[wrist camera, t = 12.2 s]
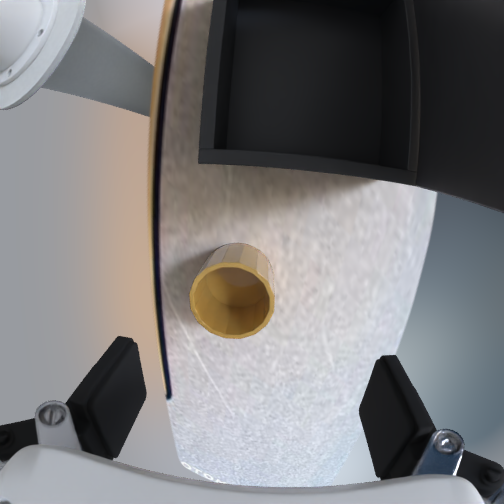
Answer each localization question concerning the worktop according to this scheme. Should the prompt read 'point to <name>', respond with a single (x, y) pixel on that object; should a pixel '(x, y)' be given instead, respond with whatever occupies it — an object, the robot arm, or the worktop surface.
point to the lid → (462, 99)
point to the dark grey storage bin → (313, 87)
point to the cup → (234, 292)
